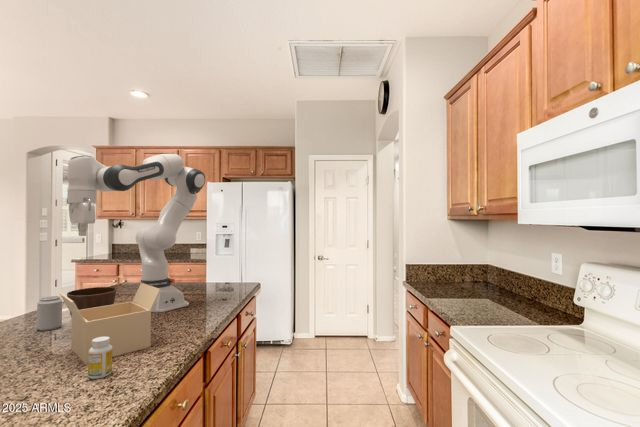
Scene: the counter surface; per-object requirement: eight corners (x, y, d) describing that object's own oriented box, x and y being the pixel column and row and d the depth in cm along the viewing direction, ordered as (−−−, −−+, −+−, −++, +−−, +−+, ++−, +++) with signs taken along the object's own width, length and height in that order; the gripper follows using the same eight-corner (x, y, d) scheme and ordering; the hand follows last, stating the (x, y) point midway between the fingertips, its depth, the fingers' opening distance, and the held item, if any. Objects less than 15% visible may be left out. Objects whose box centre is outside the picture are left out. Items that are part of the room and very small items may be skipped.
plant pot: (125, 330, 126) (125, 288, 126) (88, 344, 112) (89, 296, 112) (94, 327, 130) (95, 286, 130) (55, 340, 116) (56, 294, 116)
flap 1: (85, 321, 97) (83, 322, 96) (72, 310, 108) (70, 311, 108) (73, 301, 95) (71, 302, 94) (61, 292, 106) (59, 293, 106)
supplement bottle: (91, 381, 86) (92, 344, 86) (85, 375, 89) (85, 339, 89) (114, 374, 90) (115, 338, 90) (107, 368, 93) (108, 334, 93)
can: (47, 332, 124) (48, 299, 124) (31, 330, 125) (32, 299, 126) (66, 326, 131) (67, 295, 132) (51, 324, 133) (51, 294, 133)
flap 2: (132, 301, 121) (133, 301, 122) (150, 309, 110) (151, 309, 110) (141, 282, 124) (142, 283, 124) (159, 288, 112) (161, 289, 113)
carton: (131, 334, 121) (131, 301, 122) (150, 346, 109) (151, 310, 110) (70, 348, 108) (71, 311, 109) (85, 364, 96) (85, 322, 96)
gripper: (100, 197, 119) (100, 236, 119) (85, 200, 133) (85, 234, 133) (79, 197, 114) (79, 237, 114) (65, 199, 128) (65, 235, 128)
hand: (82, 235), depth 123 cm, fingers closed
